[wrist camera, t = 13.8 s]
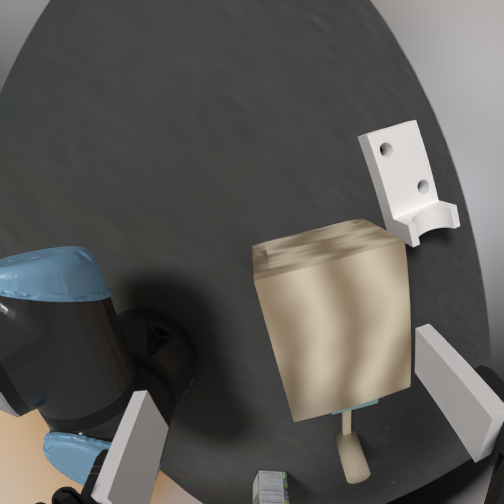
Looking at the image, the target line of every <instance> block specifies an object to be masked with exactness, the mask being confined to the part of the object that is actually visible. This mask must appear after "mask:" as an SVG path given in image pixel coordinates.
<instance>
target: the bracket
mask: <svg viewBox="0 0 504 504" xmlns="http://www.w3.org/2000/svg"><path fill="white" fill-rule="evenodd" d="M358 139H359V142H360V145H361V148H362V151H363V154H364V156H365V159H366V162H367V165H368V168H369V171H370V175H371V178H372V181H373V184H374V187H375V191H376V194H377V197H378V201H379V204H380V207H381V211H382V215H383V218H384V222H385V226H386V229H387V231H388V232H390V233H391V234H393V235H395V236H397V237H399V238H401V239H402V240H404V241H405V243H406V244H408V245H410V246H412V247H415V246H417V245H420V242H419V236H420V235H421V234H423V233H425V232H427V231H429V230H432V229H436V228H442V227H449V228H454V229H455V228H457V227H459V226H460V223H459V217H458V212H457V207H456V205H454V204H450V203H446V202H443V201H439V200H438V196H437V192H436V188H435V184H434V180H433V176H432V172H431V168H430V165H429V161H428V158H427V154H426V151H425V147H424V144H423V141H422V138H421V135H420V131H419V128H418V125H417V122H416V120H413V121H408V122H404V123H401V124H397V125H394V126H391V127H387V128H384V129H380V130H377V131H374V132H370V133H367V134H364V135H361V136H358ZM380 146H381V148H382V154H381V153H380ZM418 183H419V188H418Z"/></svg>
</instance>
